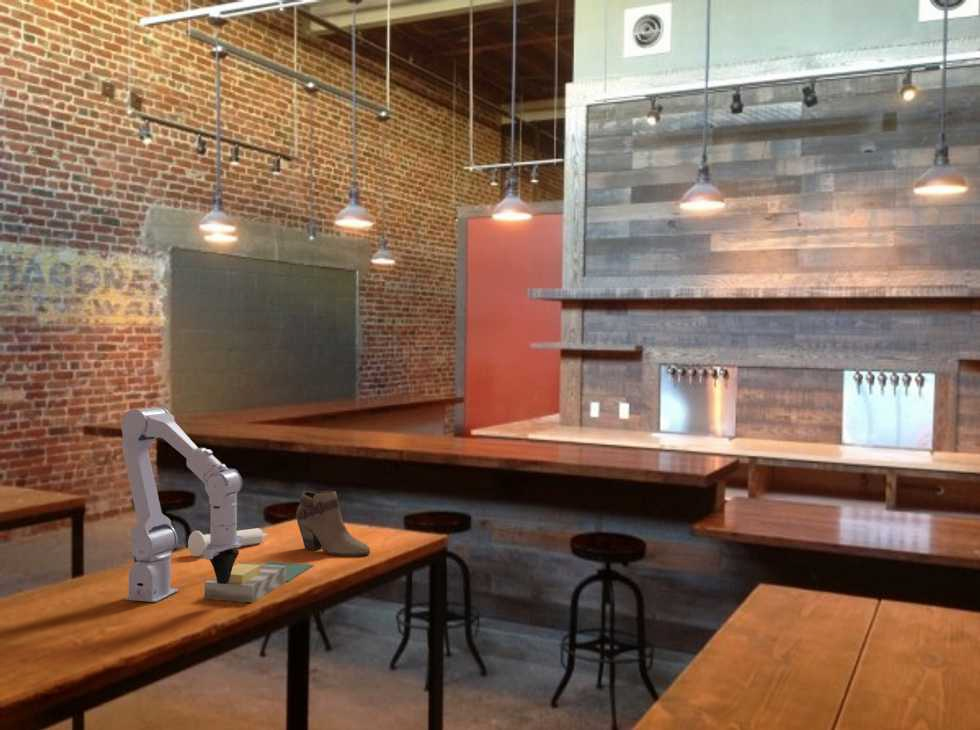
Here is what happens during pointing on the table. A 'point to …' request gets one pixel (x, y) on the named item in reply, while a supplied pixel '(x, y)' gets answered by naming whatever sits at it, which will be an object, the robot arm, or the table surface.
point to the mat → (291, 568)
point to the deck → (248, 585)
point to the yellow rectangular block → (243, 573)
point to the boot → (326, 526)
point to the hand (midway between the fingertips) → (223, 583)
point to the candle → (200, 541)
